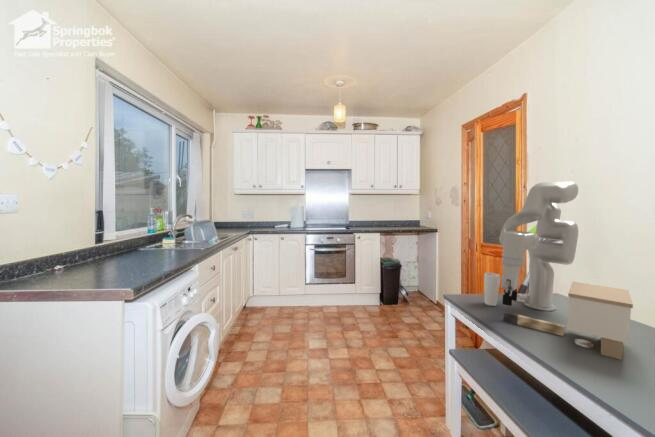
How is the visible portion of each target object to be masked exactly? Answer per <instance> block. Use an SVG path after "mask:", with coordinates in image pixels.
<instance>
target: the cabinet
mask: <svg viewBox="0 0 655 437" xmlns="http://www.w3.org/2000/svg"><path fill="white" fill-rule="evenodd" d="M567 297H569V299H568V313H567V327H566V329H567V330H570V331H573V332H578V333H581V334H582V333H583V334H586V335H591V336H595V337H599V338H600V355H602V356H606V357H610V358H613V359H617V360H623V349H624V347H623V346H624V343H625V344H629V336H630V326H631V325H630V324H631V313H632V309H633V307H634V304H633V300H632V298H631V294H630V291H629V289H623V288H616V287H611V286H610V287H609V286H604V285H598V284H597V285H596V284H590V283H584V282H578V281H572V283H571V286H570V288H569V291H568V296H567Z"/></svg>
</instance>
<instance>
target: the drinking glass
mask: <svg viewBox="0 0 655 437" xmlns="http://www.w3.org/2000/svg"><path fill="white" fill-rule="evenodd" d="M483 275H484V276H483V277H484V278H483V287H484V288H483V289H484V290H483V293H484V294H483V295H484V305H486V306H490V307H491V306H492V307H496V306H497V304H498V296H499V291H500V290H499V289H500V286H501V283H500V282H501V275H500V274H499V273H495V272H485V273H484V274H483Z"/></svg>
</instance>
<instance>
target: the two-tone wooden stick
mask: <svg viewBox="0 0 655 437" xmlns="http://www.w3.org/2000/svg"><path fill="white" fill-rule="evenodd" d="M502 321H503V322H505V321H506V323H509V322H510V324H513V323H514V325H517V324H518V326H521V327H526V328H530V329H534V330H537V331H542V332H546V333H550V334H554V335H558V336H561V337H564V334H565V325H564V324H560V323H555V322H551V321H547V320H543V319H538V318H534V317H530V316H525V315H521V314H517V313H513V312H509V311H504V312H503V319H502Z"/></svg>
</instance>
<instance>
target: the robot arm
mask: <svg viewBox="0 0 655 437" xmlns="http://www.w3.org/2000/svg"><path fill="white" fill-rule="evenodd" d="M578 195H579V186H578V185H577V183H576V182H574V181H545V182H540V183H536V184H535V185H533V186H531V188H530V189H529V191H528V194H527V196H526V199H525V200H524V204H523V206H522V208H521V210H520V211H518V212H516V213H515V214H513V215H512V216H511V217H509V218H507V220H506V221H505V222H504V224H503V226H502V228H501V231H500V234H499V244H500V245H501V246H502V258H501V265H502V266H503V269H502V273H501V274H502V275H501V280H500V282H501V283H500V288H501V289H502V290H503V293H502V305H504V306H508V307H512V304H513V301H515V302H516V301H517V300H518V298H519V299H520V300H523V301H524V302H523V305H525V306H527V307H528V308H531V309H534V310H540V311H545V312H546V311H547V312H551V311H556V310H557V306H556V305H555V304H553V296H554V295H553V294H554V280H555V272H554V268H553V267H552V265H551V264H550V263H552V264H558V265H563V266H564V265H565V266H566V265H567V266H568V265H571V264H573V263H574V260H575V257H576V250H577V244H578V238H579V227H578V224H577V223H576V222H575V221H572V220H565V219H564V220H561V214H562V210H561V208H560V207H559V205H558V204H566V203H569V202H572V201H573V200H575V199H576V197H577V196H578ZM533 222H537V223H536V228H535V233H534V232H531V231H523V230H522V231H521V230H515V229H517V228H518V227H520V226H523V225H525V224H530V223H531V224H532V223H533ZM540 239H544V240H550V241H543V240H540ZM551 240H553V241H559V242H560V241H561V242H562V243H561V242H560V243H559V242H553V241H552V242H551ZM525 250H526V251H528V257H529V280H528V293H527V294H523V293H518V288H519V286H520V283H519V282H520V274H521V272H520V270H521V268H523V267H524V258H525Z"/></svg>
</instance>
